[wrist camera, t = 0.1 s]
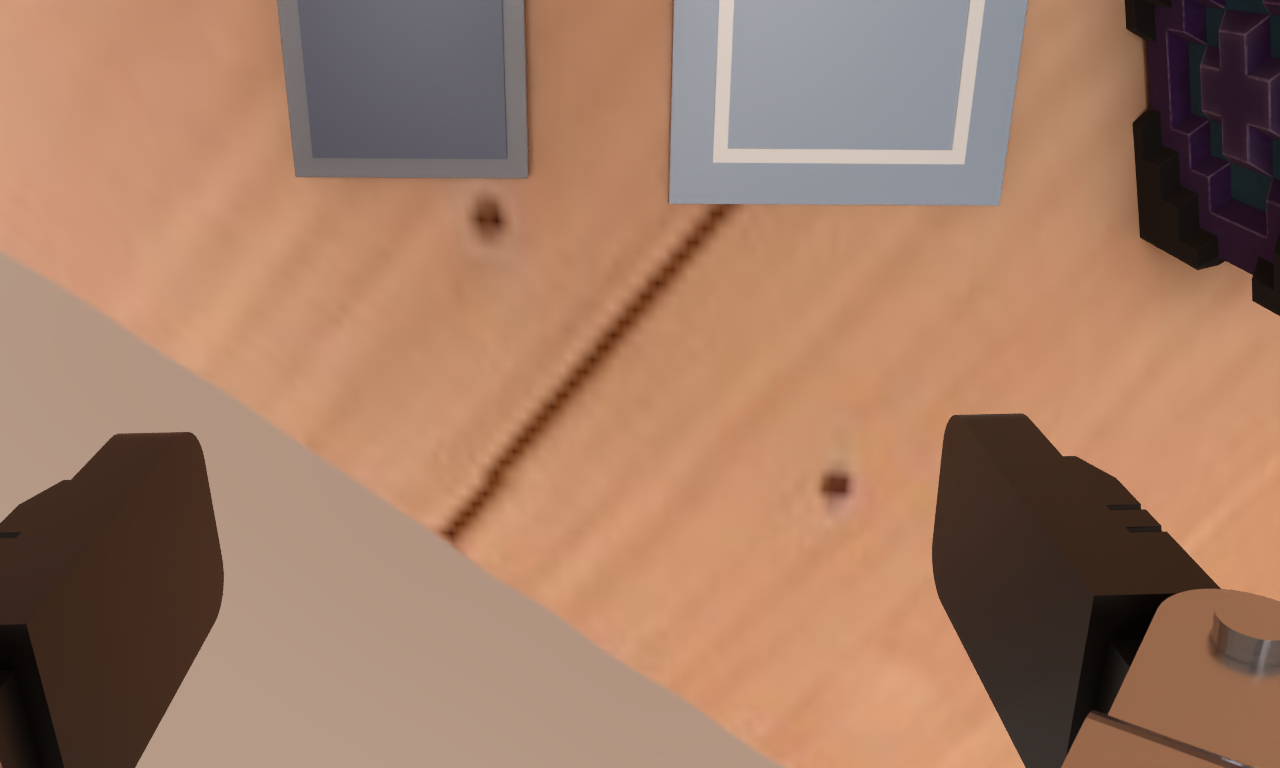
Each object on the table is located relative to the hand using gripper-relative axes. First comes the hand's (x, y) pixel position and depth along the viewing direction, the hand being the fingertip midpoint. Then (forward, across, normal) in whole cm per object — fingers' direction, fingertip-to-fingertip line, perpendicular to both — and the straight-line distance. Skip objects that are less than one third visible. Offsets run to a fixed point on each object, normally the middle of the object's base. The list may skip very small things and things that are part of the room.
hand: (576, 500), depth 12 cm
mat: (+29, -9, -2) cm, 30 cm away
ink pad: (+29, +6, -3) cm, 30 cm away
